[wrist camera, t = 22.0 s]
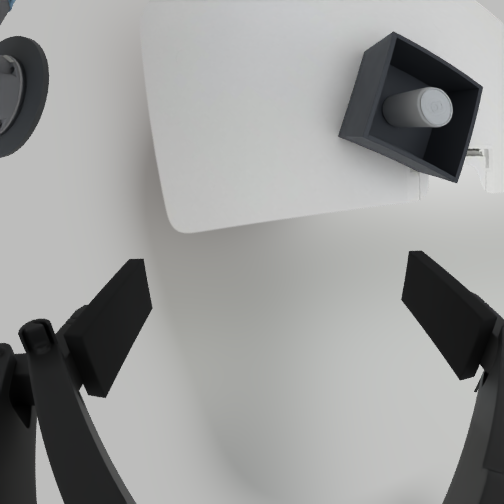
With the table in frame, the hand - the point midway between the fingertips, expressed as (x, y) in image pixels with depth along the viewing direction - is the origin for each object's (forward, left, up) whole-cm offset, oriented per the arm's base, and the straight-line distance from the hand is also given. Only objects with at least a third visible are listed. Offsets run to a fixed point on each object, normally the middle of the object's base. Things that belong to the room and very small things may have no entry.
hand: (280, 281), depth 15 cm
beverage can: (+15, +17, -31) cm, 38 cm away
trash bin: (+15, +17, -32) cm, 39 cm away
